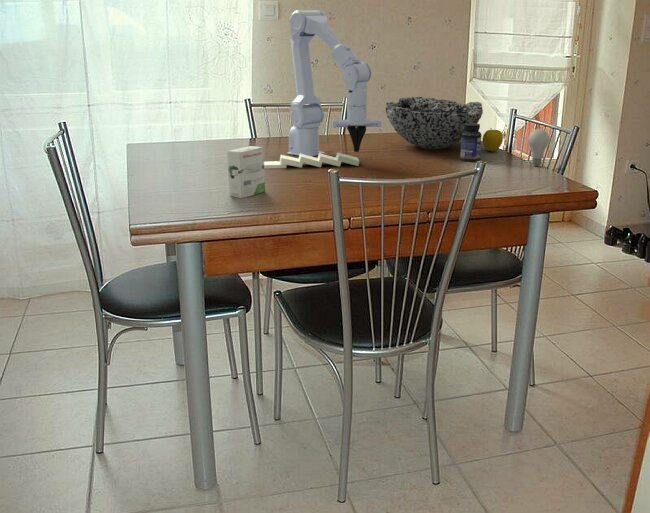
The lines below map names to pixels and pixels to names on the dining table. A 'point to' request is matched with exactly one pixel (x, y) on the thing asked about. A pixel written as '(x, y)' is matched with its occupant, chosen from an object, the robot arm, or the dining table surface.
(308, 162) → the tile
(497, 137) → the apple
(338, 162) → the tile
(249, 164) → the ink box
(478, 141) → the pill bottle
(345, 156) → the tile
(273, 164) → the tile
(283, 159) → the tile
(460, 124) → the bowl
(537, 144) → the lightbulb
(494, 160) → the dining table surface
